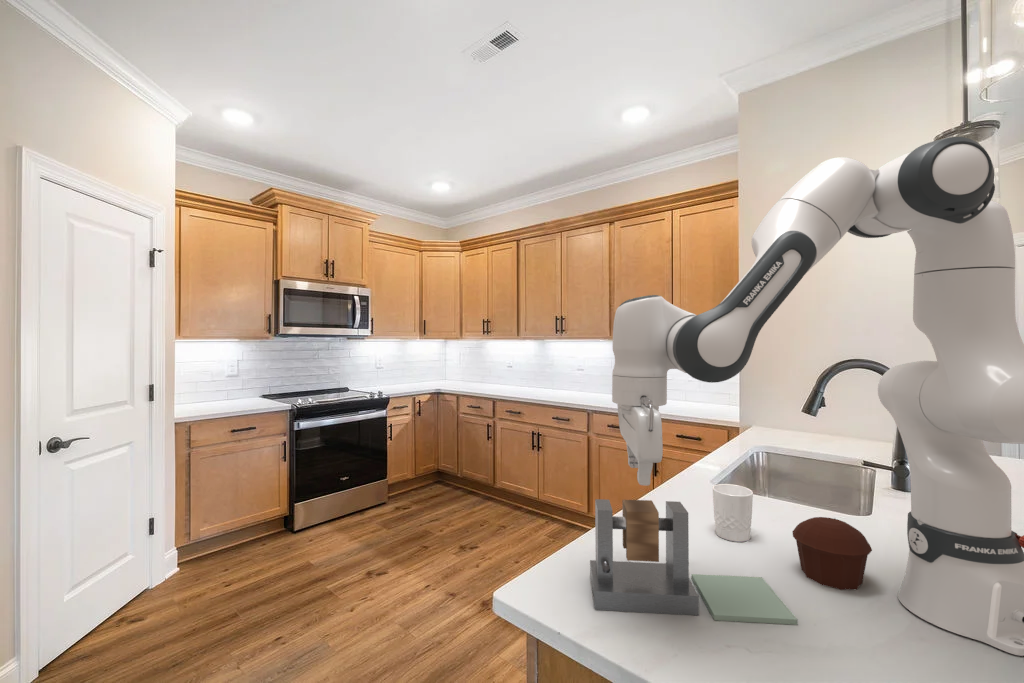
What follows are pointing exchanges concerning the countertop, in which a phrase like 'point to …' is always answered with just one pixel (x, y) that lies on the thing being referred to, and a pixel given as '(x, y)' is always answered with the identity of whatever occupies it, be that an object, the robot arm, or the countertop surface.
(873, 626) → the countertop surface
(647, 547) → the wooden block
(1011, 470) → the countertop surface
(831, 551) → the muffin
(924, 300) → the robot arm
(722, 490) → the white cup
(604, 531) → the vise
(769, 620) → the mat
